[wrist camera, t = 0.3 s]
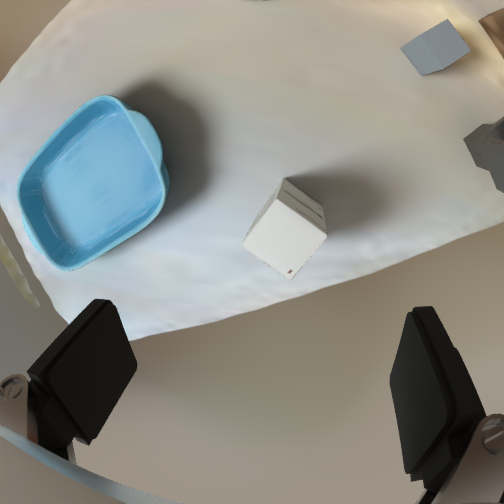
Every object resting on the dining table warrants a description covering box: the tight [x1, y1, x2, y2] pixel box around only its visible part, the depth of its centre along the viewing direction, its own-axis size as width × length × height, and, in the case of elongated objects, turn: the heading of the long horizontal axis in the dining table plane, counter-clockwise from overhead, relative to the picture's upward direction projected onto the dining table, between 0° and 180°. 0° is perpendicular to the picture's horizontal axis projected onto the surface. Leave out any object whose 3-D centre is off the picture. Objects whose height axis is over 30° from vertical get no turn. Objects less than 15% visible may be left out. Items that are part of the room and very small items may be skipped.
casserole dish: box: [17, 95, 170, 271], centre depth 45 cm, size 37×22×7 cm, turn 118°
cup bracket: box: [464, 117, 504, 193], centre depth 29 cm, size 8×8×13 cm
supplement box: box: [241, 178, 328, 280], centre depth 39 cm, size 7×7×13 cm
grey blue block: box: [400, 19, 471, 76], centre depth 27 cm, size 5×6×8 cm
